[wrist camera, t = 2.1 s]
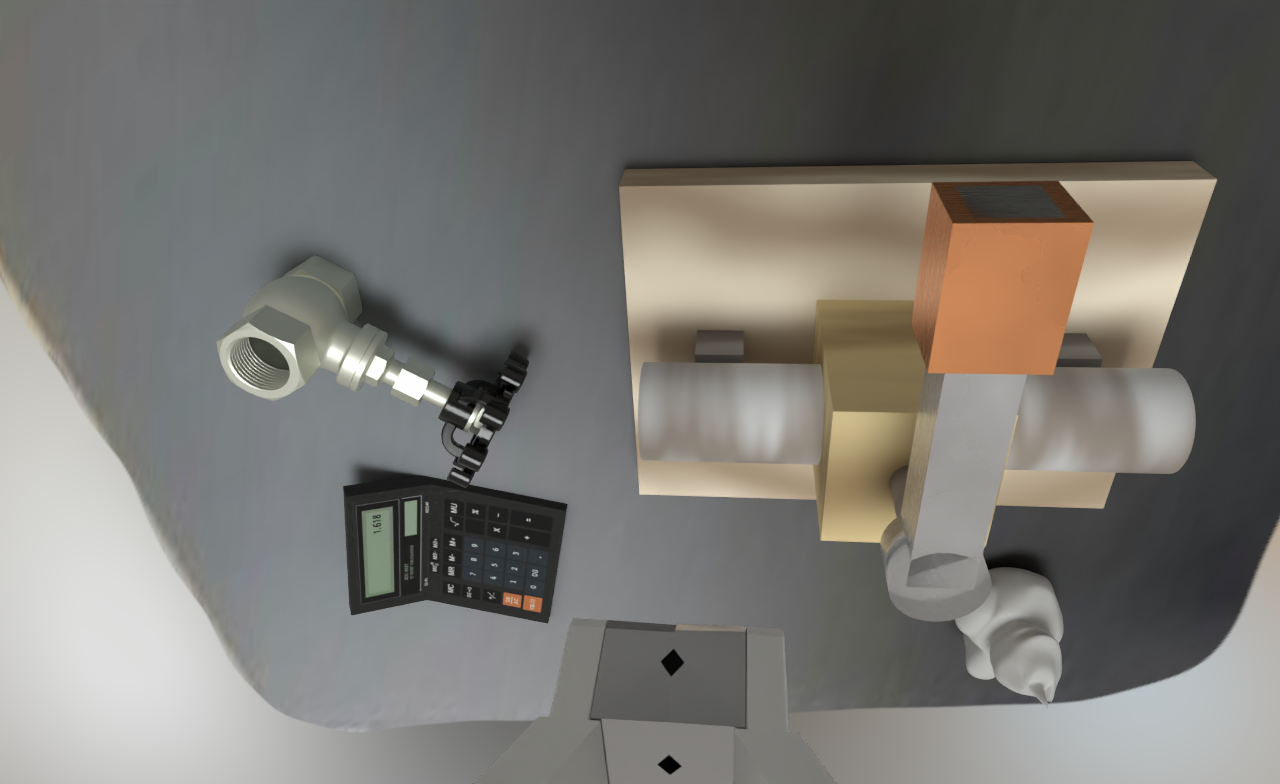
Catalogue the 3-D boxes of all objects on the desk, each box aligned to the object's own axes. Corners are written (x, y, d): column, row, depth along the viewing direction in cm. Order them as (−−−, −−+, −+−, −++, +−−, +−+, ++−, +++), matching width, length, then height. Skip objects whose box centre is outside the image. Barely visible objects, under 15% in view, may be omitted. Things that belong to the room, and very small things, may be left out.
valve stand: (624, 169, 35) (573, 320, 24) (1192, 160, 32) (1407, 325, 22) (643, 468, 44) (611, 672, 33) (1089, 480, 41) (1205, 705, 31)
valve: (267, 321, 41) (489, 429, 43) (194, 398, 36) (452, 516, 38) (302, 212, 38) (542, 335, 40) (227, 278, 32) (510, 417, 34)
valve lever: (966, 569, 28) (984, 631, 26) (874, 566, 28) (885, 626, 26) (1057, 180, 21) (1093, 222, 18) (931, 182, 21) (952, 223, 19)
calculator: (550, 612, 51) (540, 652, 49) (363, 575, 51) (344, 613, 49) (568, 500, 46) (558, 538, 43) (359, 459, 46) (337, 495, 43)
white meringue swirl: (1075, 566, 44) (1132, 696, 38) (1004, 640, 48) (1045, 770, 42) (983, 535, 44) (1025, 661, 37) (919, 612, 48) (947, 739, 41)
